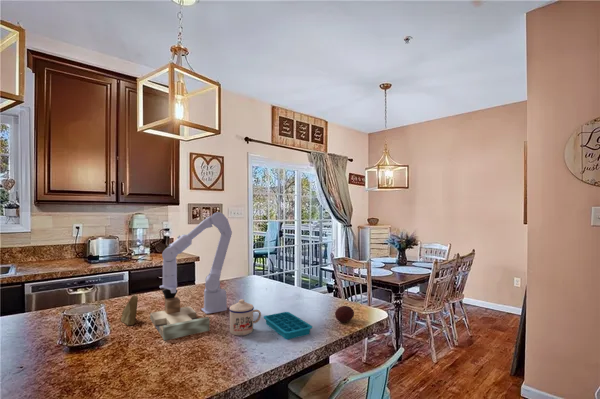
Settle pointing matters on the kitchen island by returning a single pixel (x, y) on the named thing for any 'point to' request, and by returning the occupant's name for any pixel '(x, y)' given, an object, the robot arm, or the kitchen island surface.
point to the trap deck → (179, 323)
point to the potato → (344, 313)
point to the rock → (130, 311)
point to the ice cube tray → (288, 325)
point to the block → (172, 305)
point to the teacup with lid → (242, 318)
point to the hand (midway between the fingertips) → (169, 306)
